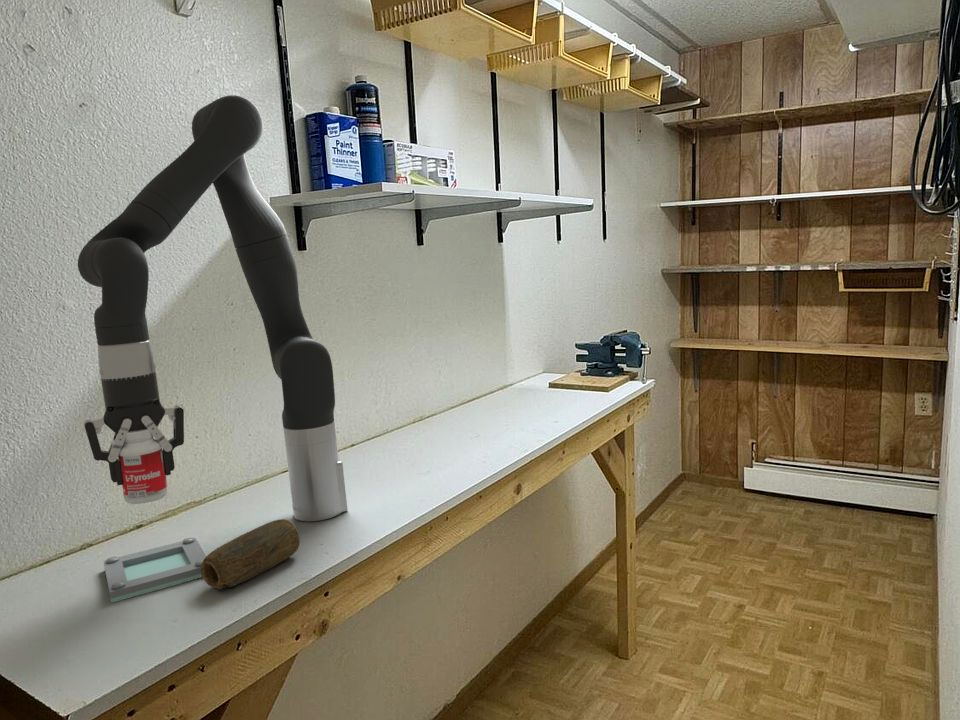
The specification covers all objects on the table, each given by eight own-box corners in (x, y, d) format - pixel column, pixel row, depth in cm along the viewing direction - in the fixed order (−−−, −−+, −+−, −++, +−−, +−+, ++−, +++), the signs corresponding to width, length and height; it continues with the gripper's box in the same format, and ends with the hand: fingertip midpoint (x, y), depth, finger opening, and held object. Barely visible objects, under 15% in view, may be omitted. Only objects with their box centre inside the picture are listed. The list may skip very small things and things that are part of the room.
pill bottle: (123, 508, 105) (112, 436, 104) (125, 496, 111) (115, 428, 110) (168, 499, 108) (158, 429, 106) (168, 489, 114) (159, 422, 112)
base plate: (196, 546, 121) (195, 535, 120) (212, 574, 109) (211, 562, 108) (104, 570, 113) (103, 558, 113) (111, 602, 102) (109, 589, 101)
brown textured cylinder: (274, 551, 116) (269, 512, 115) (305, 557, 113) (300, 517, 112) (197, 591, 103) (191, 548, 103) (230, 599, 100) (224, 555, 99)
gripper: (175, 363, 114) (189, 464, 116) (73, 377, 106) (90, 484, 109) (182, 368, 107) (197, 474, 109) (74, 382, 100) (92, 496, 102)
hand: (143, 478), depth 109 cm, fingers closed on pill bottle, 6 cm apart
